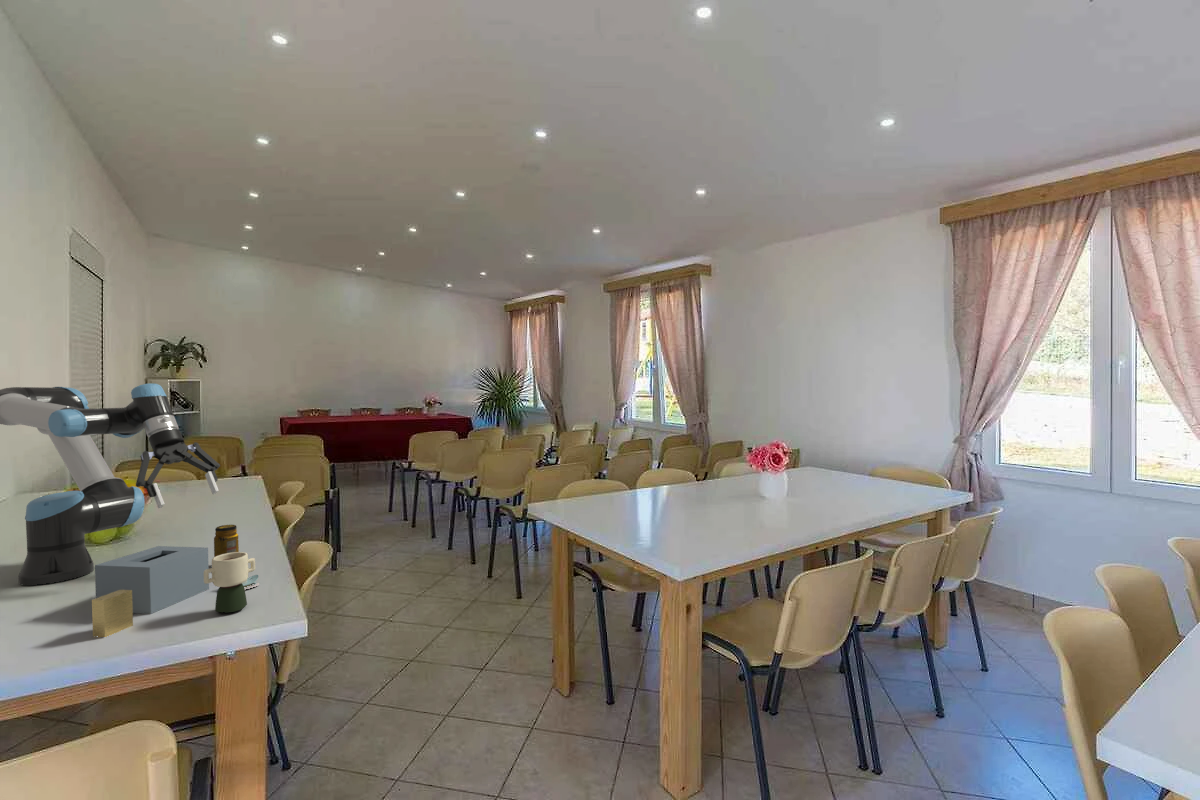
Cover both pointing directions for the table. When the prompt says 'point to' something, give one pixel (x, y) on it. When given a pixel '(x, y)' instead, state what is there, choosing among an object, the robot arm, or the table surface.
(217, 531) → the condiment
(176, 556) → the box
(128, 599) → the gold brushed block
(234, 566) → the character mug
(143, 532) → the table surface
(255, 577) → the pacifier
